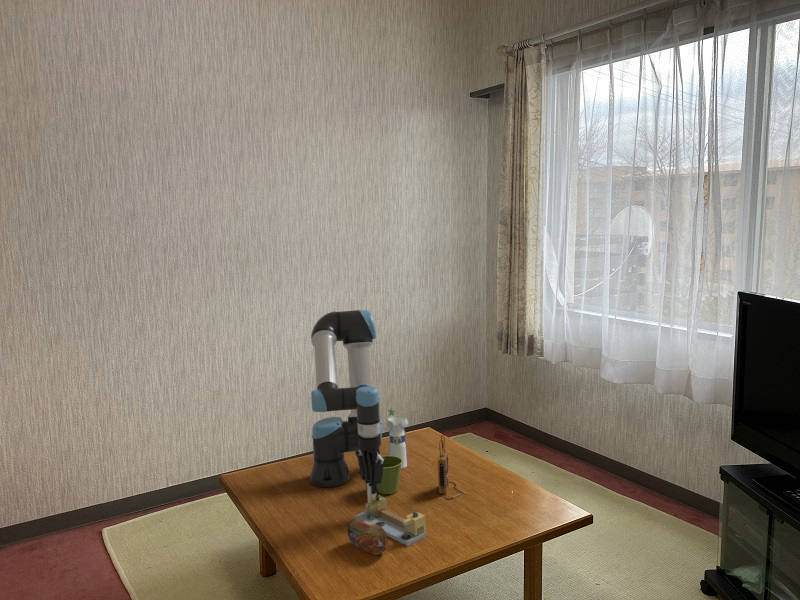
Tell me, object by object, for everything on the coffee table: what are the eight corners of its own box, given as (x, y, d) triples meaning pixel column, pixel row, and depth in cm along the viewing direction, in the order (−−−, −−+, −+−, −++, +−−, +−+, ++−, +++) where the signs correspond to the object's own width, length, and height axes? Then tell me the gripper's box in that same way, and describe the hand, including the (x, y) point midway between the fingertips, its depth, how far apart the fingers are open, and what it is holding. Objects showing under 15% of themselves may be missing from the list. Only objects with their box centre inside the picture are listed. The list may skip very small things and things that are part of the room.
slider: (363, 516, 204) (362, 498, 203) (379, 508, 209) (378, 491, 208) (371, 520, 201) (370, 502, 200) (387, 512, 206) (386, 495, 205)
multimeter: (465, 500, 216) (464, 445, 213) (437, 499, 218) (435, 444, 215) (469, 482, 230) (468, 431, 228) (442, 481, 232) (441, 430, 230)
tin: (347, 543, 191) (346, 517, 190) (354, 539, 193) (353, 513, 192) (383, 559, 181) (381, 532, 180) (390, 555, 183) (389, 528, 182)
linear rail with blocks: (355, 519, 206) (354, 497, 205) (374, 510, 211) (373, 489, 210) (407, 546, 188) (406, 522, 187) (426, 535, 193) (426, 512, 192)
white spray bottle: (409, 468, 245) (407, 407, 242) (388, 469, 245) (385, 408, 242) (409, 460, 253) (407, 401, 250) (388, 461, 254) (386, 402, 250)
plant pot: (408, 485, 230) (407, 456, 228) (397, 499, 219) (396, 469, 217) (378, 482, 234) (377, 453, 232) (366, 495, 223) (365, 466, 221)
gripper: (347, 432, 207) (351, 500, 210) (373, 441, 197) (376, 512, 200) (365, 427, 212) (368, 492, 215) (390, 435, 202) (393, 504, 205)
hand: (372, 502), depth 207 cm, fingers closed
